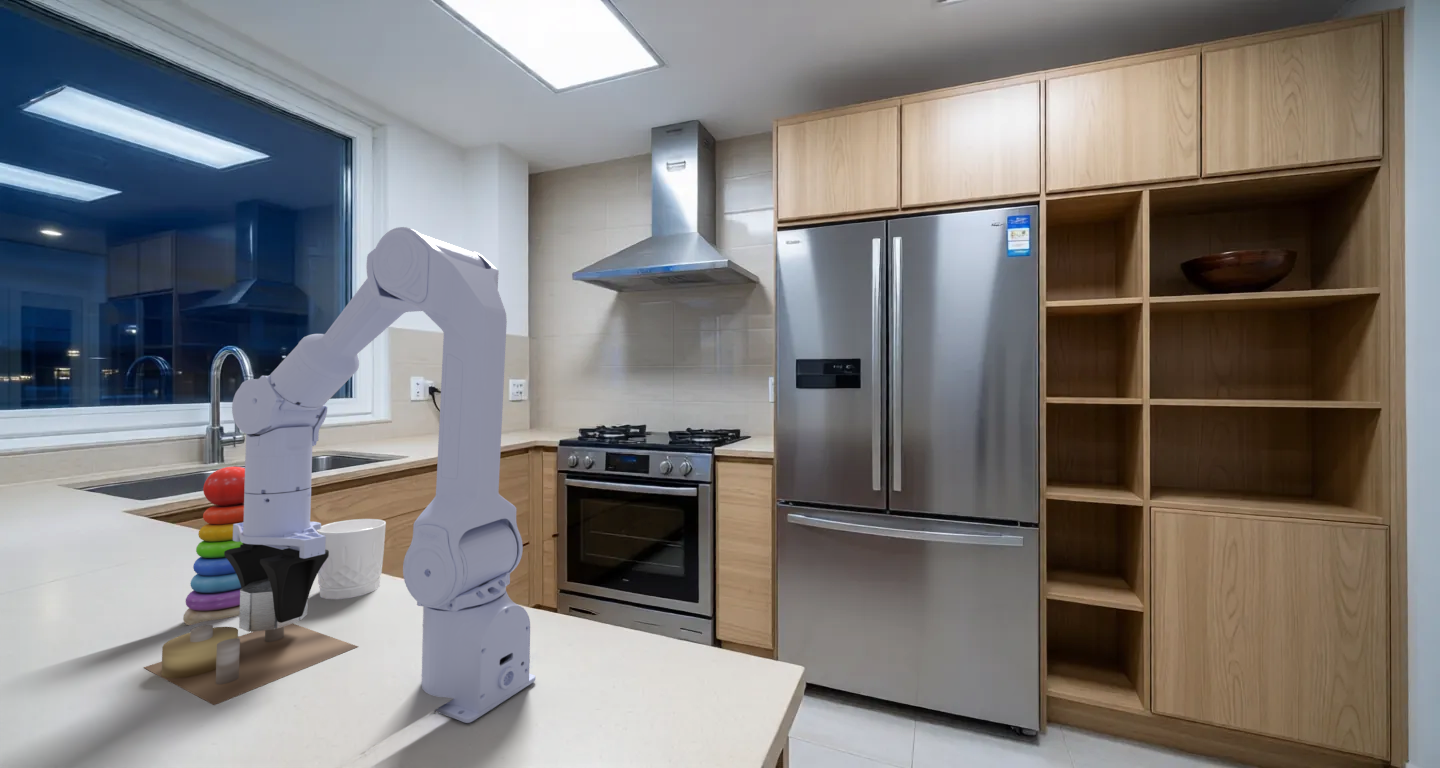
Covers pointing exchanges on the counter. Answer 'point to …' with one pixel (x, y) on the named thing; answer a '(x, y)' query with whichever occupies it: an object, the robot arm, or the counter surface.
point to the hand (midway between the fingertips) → (275, 613)
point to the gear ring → (260, 608)
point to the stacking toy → (217, 550)
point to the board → (241, 658)
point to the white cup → (352, 558)
